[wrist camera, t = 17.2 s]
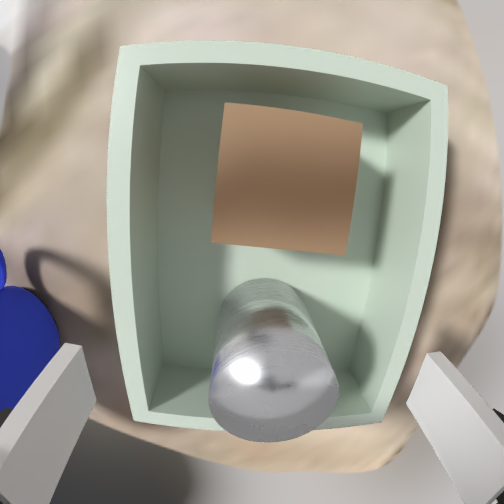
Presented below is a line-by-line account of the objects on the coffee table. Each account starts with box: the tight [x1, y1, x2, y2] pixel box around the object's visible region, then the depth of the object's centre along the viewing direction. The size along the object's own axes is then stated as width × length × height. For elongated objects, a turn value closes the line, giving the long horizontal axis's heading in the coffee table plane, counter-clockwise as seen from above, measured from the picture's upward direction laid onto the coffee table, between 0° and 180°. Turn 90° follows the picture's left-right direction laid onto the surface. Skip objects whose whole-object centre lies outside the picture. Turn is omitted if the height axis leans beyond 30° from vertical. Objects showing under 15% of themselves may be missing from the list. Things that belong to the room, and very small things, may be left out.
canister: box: [208, 278, 339, 442], centre depth 14 cm, size 5×5×7 cm
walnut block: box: [211, 102, 363, 255], centre depth 13 cm, size 5×5×5 cm
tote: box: [107, 40, 448, 431], centre depth 14 cm, size 18×14×5 cm
